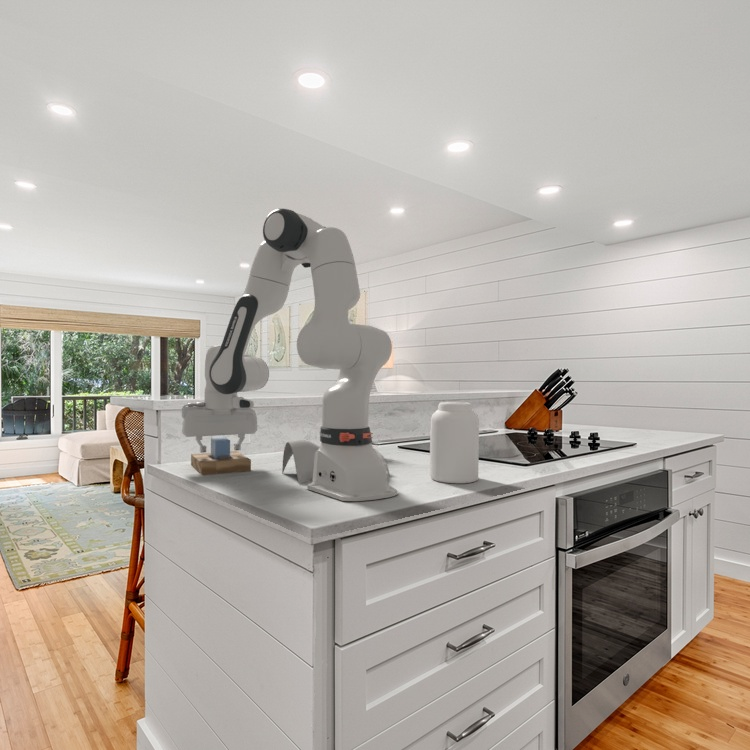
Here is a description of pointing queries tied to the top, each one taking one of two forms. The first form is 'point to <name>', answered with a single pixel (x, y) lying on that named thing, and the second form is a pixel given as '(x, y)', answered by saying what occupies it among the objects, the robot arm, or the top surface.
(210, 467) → the wooden base block
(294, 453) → the sculpture
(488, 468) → the top surface
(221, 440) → the block
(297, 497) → the top surface
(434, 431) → the white lidded jar
